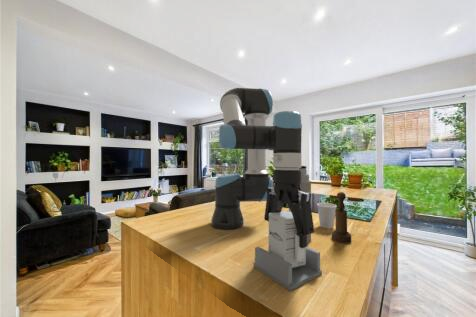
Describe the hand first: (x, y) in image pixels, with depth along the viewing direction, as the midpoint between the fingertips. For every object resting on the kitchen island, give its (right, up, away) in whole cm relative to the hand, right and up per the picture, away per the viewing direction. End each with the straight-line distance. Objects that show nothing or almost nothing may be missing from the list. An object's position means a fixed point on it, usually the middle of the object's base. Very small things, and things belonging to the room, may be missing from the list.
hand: (286, 252), depth 55 cm
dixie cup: (+27, -6, +37) cm, 47 cm away
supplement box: (0, -2, 0) cm, 2 cm away
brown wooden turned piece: (+26, -5, +22) cm, 34 cm away
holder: (0, -5, 0) cm, 5 cm away
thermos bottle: (+10, -5, +22) cm, 25 cm away
